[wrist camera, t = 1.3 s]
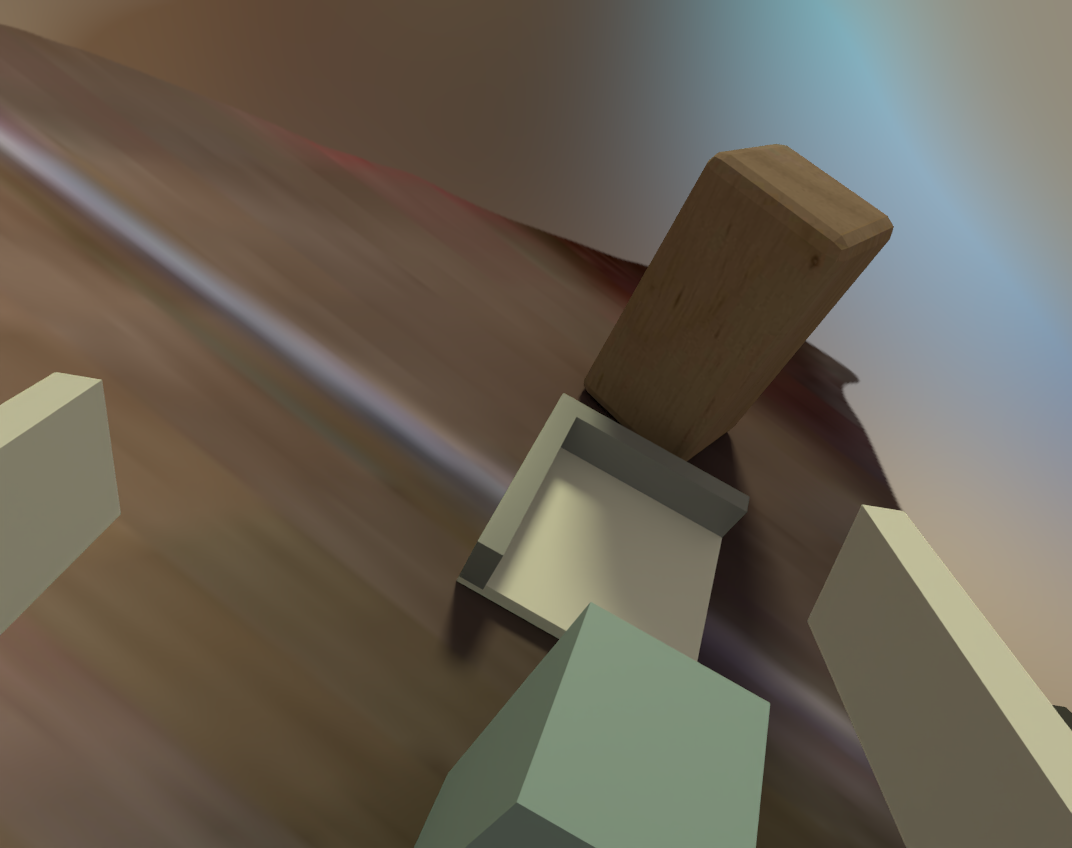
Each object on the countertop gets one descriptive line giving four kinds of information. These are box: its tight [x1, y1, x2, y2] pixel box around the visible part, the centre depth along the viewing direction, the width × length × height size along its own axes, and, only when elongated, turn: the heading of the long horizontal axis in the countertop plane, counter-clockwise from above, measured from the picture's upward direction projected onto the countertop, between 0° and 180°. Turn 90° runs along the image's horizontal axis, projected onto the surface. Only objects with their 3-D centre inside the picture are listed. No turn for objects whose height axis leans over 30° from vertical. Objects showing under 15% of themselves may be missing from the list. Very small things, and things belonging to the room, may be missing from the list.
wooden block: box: [584, 144, 894, 462], centre depth 48 cm, size 10×10×20 cm
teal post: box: [414, 602, 770, 848], centre depth 23 cm, size 6×6×16 cm
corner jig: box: [457, 393, 749, 661], centre depth 41 cm, size 14×14×4 cm
